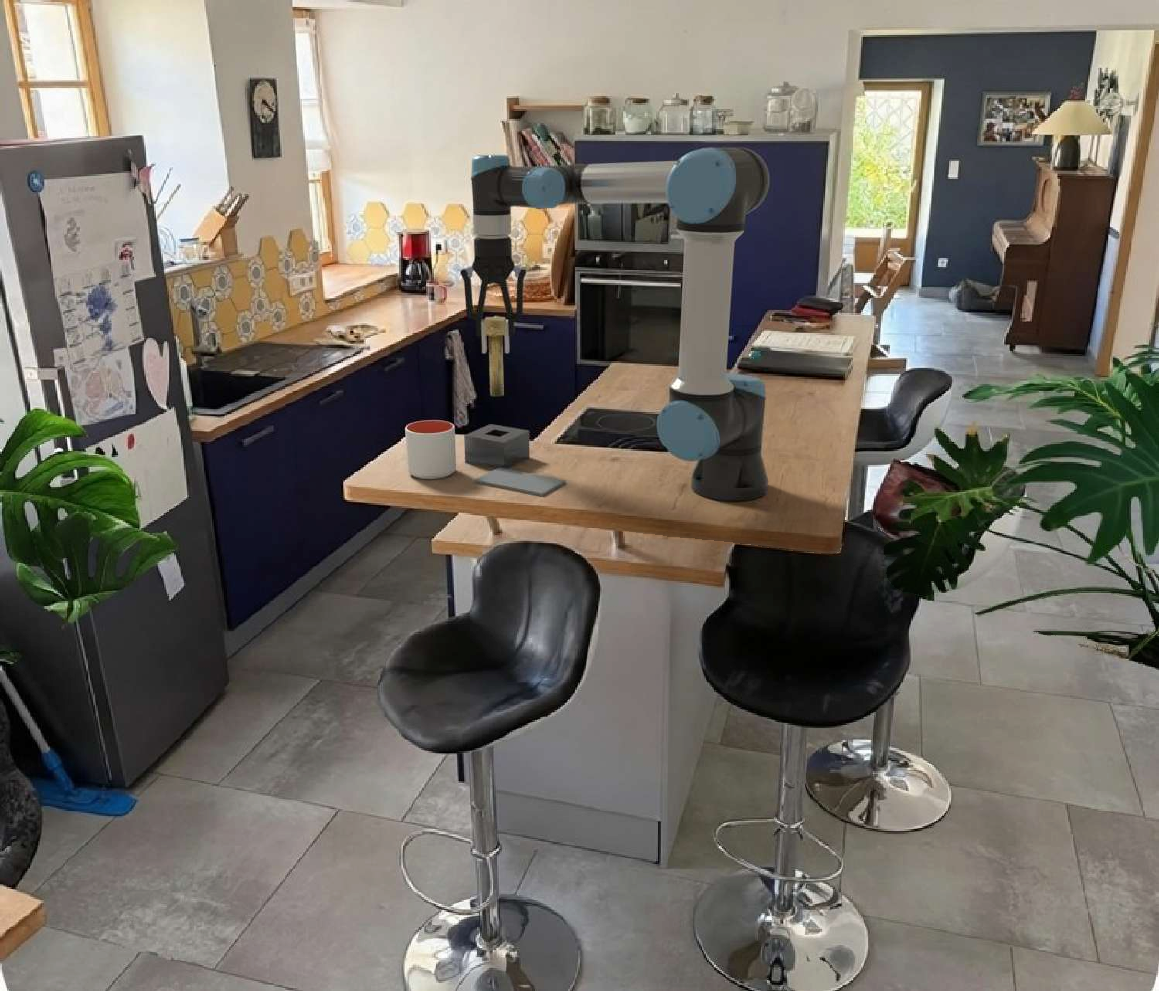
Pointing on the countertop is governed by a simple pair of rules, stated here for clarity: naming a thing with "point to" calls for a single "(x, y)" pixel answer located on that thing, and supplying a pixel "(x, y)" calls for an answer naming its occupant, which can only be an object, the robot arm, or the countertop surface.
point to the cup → (430, 449)
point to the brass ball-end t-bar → (495, 353)
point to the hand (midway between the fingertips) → (495, 351)
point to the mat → (520, 481)
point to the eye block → (496, 446)
